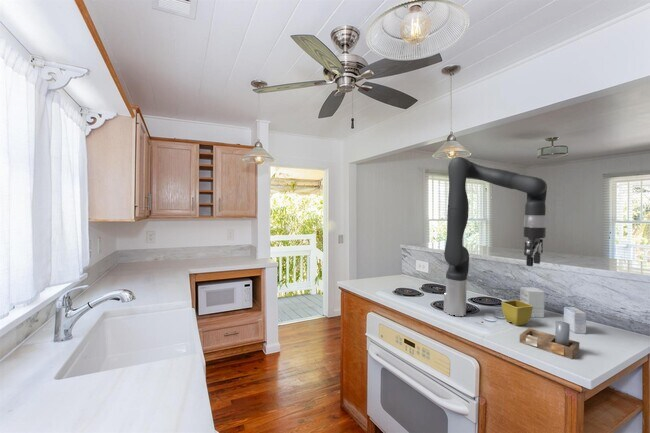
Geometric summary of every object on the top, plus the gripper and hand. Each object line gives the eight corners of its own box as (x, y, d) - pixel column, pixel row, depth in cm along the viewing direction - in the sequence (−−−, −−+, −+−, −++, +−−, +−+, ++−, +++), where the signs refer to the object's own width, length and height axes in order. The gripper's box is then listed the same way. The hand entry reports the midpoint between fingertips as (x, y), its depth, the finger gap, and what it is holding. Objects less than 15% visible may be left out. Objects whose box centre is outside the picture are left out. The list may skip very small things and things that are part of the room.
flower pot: (517, 328, 129) (517, 307, 129) (500, 320, 138) (500, 301, 137) (532, 326, 132) (533, 305, 131) (515, 318, 140) (516, 299, 140)
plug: (553, 349, 110) (554, 323, 110) (556, 346, 113) (557, 320, 112) (567, 354, 107) (568, 326, 107) (570, 350, 109) (571, 323, 109)
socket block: (519, 342, 116) (519, 334, 116) (528, 335, 122) (529, 327, 122) (571, 359, 103) (571, 350, 103) (579, 350, 110) (579, 341, 110)
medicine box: (586, 334, 124) (587, 313, 124) (573, 333, 125) (574, 312, 124) (574, 326, 132) (575, 307, 131) (562, 325, 132) (563, 306, 132)
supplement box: (535, 312, 149) (535, 287, 148) (544, 318, 141) (545, 291, 141) (519, 311, 150) (520, 286, 149) (527, 317, 142) (528, 290, 142)
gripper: (530, 225, 132) (529, 261, 133) (517, 226, 124) (516, 265, 124) (550, 226, 127) (549, 264, 127) (539, 227, 118) (538, 268, 118)
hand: (533, 264), depth 126 cm, fingers open, 8 cm apart
